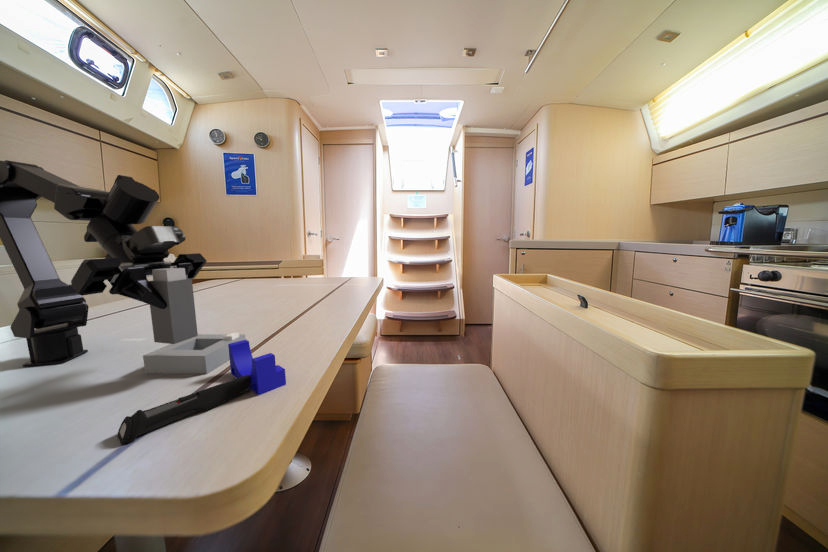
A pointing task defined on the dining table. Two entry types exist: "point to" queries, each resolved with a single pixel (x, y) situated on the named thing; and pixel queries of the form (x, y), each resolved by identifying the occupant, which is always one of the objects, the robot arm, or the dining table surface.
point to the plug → (173, 306)
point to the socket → (192, 354)
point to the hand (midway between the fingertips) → (178, 304)
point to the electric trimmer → (179, 408)
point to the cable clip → (255, 368)
